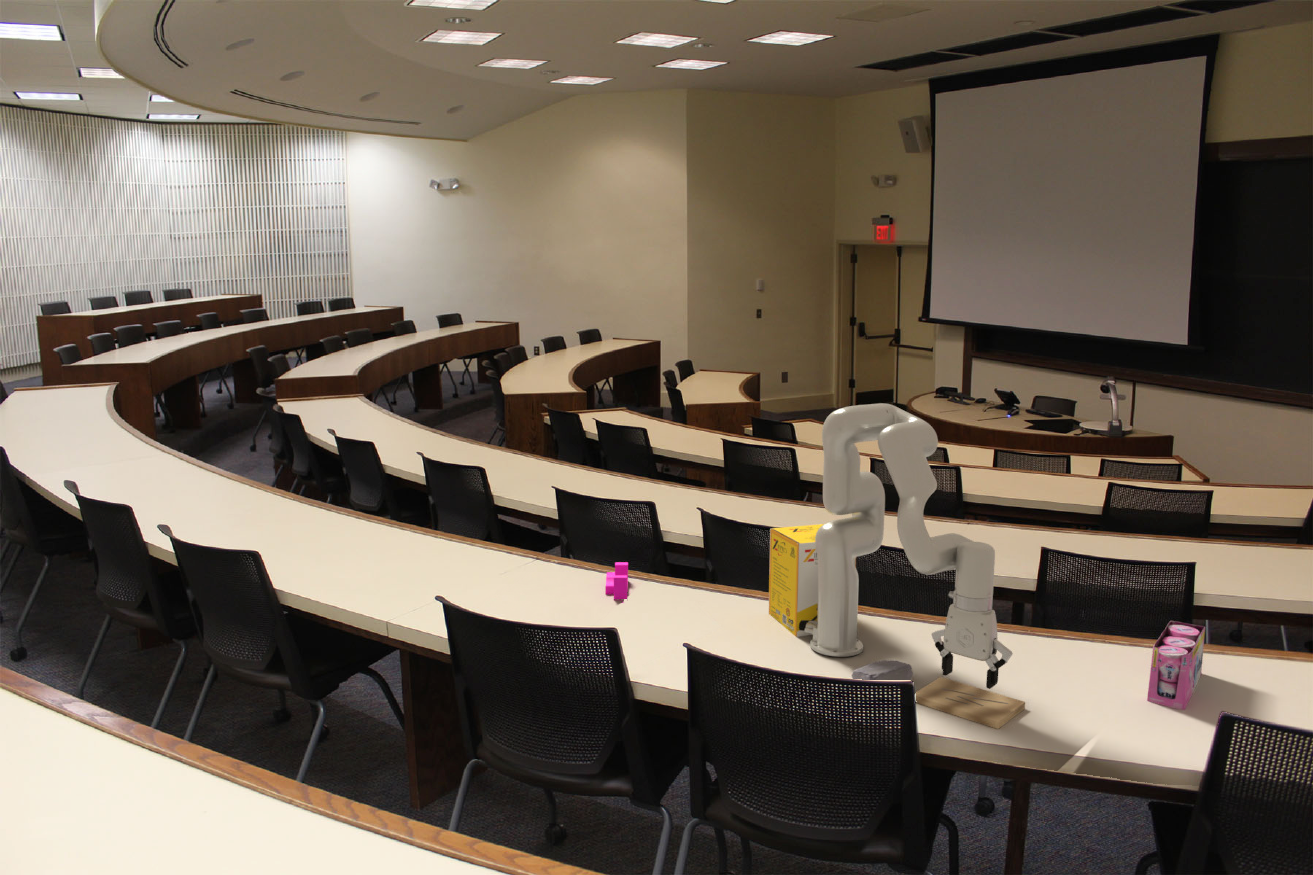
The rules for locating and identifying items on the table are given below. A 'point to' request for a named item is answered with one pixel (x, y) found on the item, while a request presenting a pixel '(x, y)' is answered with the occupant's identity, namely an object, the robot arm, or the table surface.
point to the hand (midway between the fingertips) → (968, 680)
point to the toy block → (618, 581)
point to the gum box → (1176, 664)
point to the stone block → (884, 671)
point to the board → (969, 702)
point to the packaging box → (794, 577)
